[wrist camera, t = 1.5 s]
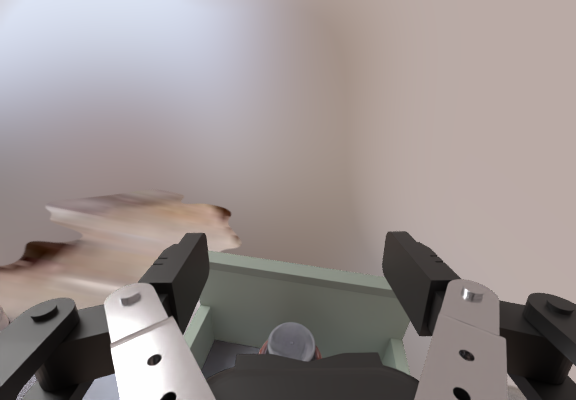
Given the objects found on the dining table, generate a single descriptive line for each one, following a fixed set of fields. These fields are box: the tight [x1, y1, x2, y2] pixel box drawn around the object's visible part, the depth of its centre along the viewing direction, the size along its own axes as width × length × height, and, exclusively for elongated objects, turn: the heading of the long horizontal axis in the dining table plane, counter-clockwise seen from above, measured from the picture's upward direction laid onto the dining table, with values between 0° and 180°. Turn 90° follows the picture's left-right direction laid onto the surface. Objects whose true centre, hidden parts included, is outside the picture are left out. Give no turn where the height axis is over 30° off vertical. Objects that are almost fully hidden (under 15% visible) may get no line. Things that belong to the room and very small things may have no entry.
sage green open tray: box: [184, 251, 411, 376], centre depth 24 cm, size 14×22×13 cm, turn 81°
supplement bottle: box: [259, 322, 322, 362], centre depth 25 cm, size 6×6×11 cm
